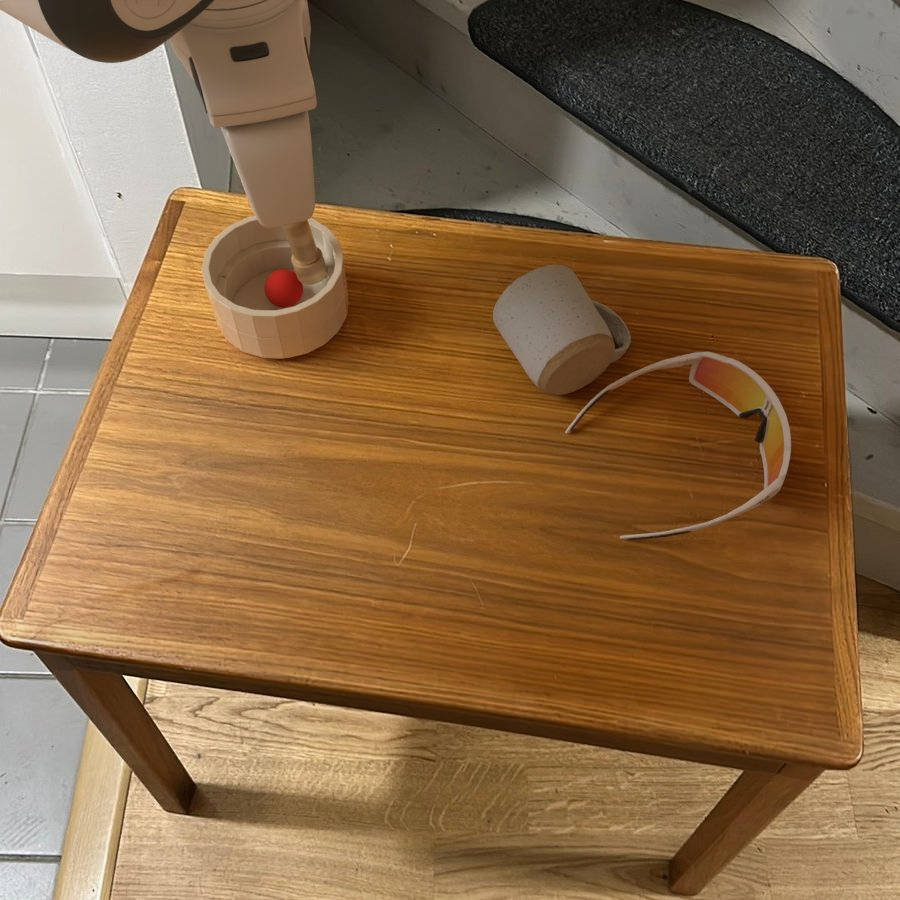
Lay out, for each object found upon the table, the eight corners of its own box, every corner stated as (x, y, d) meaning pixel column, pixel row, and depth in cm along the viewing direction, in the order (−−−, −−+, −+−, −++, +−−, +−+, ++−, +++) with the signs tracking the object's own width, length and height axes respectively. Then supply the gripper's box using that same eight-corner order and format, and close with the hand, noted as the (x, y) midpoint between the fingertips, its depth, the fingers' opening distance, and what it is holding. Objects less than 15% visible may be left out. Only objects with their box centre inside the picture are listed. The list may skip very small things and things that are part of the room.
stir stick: (295, 286, 76) (218, 72, 60) (298, 263, 78) (224, 48, 61) (326, 283, 76) (257, 68, 60) (328, 261, 78) (262, 44, 61)
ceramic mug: (535, 414, 74) (547, 354, 67) (487, 341, 77) (494, 278, 71) (647, 368, 76) (668, 307, 70) (595, 300, 80) (611, 236, 74)
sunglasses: (813, 500, 70) (829, 469, 65) (631, 574, 69) (634, 548, 64) (721, 359, 77) (729, 323, 72) (554, 425, 76) (552, 392, 71)
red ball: (266, 314, 77) (269, 280, 75) (260, 295, 79) (263, 261, 77) (304, 315, 78) (308, 281, 76) (297, 296, 80) (301, 263, 78)
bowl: (229, 376, 75) (214, 329, 70) (207, 277, 81) (192, 227, 76) (362, 346, 77) (357, 298, 72) (332, 251, 83) (325, 200, 78)
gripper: (163, -72, 62) (209, 102, 74) (210, 125, 52) (254, 290, 63) (256, -87, 63) (287, 87, 74) (321, 104, 53) (344, 271, 64)
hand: (272, 182), depth 69 cm, fingers closed on stir stick, 2 cm apart
